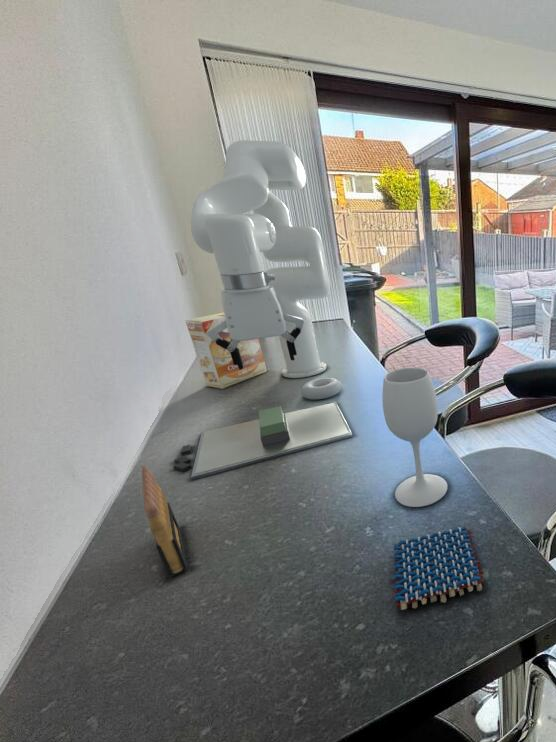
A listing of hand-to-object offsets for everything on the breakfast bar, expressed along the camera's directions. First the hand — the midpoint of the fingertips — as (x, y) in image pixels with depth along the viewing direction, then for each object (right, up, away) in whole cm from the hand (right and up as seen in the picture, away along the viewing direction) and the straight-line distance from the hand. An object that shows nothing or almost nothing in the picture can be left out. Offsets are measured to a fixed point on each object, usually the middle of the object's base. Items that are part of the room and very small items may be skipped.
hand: (267, 363), depth 85 cm
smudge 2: (-12, -20, -8) cm, 24 cm away
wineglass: (+37, -23, -18) cm, 47 cm away
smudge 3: (-10, -21, -10) cm, 25 cm away
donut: (+2, -8, +22) cm, 23 cm away
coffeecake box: (-30, -3, +35) cm, 46 cm away
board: (+1, -16, +1) cm, 16 cm away
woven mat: (+42, -29, -34) cm, 61 cm away
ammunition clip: (+5, -28, -29) cm, 41 cm away
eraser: (+1, -15, +1) cm, 15 cm away
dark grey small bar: (-14, -18, -4) cm, 23 cm away
